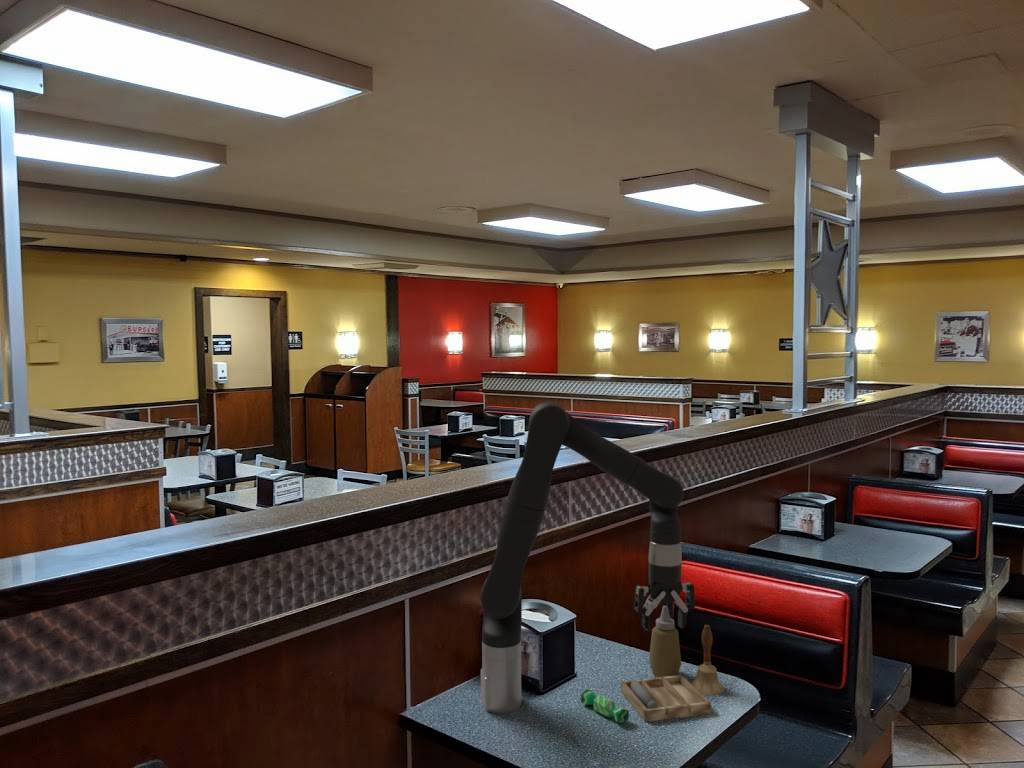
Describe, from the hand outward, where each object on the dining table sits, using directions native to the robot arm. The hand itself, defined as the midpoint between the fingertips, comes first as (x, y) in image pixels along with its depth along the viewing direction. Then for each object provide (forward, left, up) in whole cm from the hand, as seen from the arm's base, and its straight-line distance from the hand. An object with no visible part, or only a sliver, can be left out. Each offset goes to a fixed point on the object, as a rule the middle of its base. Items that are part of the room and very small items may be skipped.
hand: (664, 628), depth 175 cm
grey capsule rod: (-5, 0, -17) cm, 18 cm away
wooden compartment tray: (0, 0, -18) cm, 18 cm away
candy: (-15, -2, -18) cm, 24 cm away
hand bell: (+13, +4, -18) cm, 23 cm away
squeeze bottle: (+6, +13, -18) cm, 23 cm away
